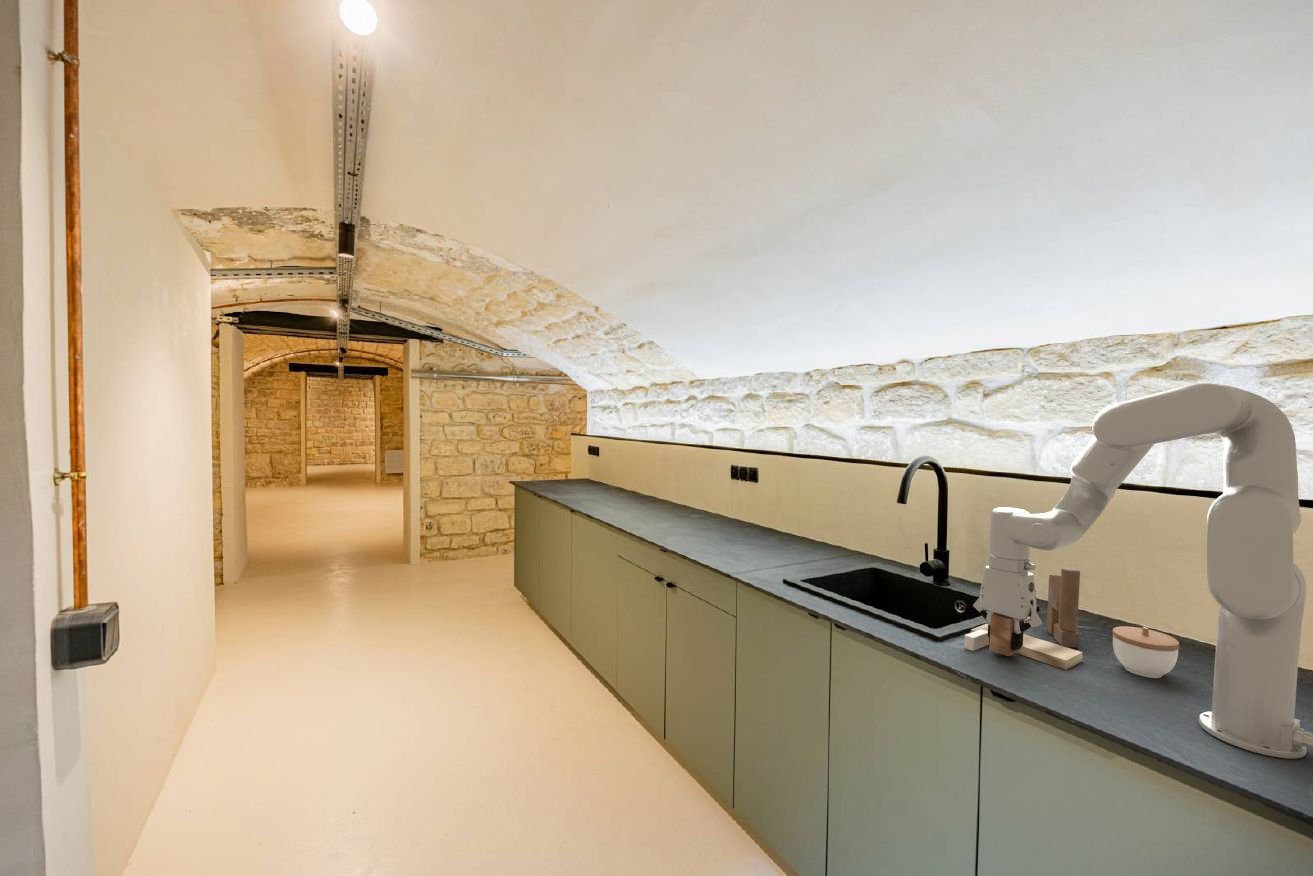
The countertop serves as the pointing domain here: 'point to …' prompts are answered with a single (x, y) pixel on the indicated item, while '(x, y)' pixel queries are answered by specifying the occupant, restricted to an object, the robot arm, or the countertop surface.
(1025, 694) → the countertop surface
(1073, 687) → the countertop surface
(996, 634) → the upright brown wood block
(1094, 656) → the countertop surface
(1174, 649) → the lidded jar
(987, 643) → the end stop
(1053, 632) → the wooden block
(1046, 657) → the oak board
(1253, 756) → the countertop surface
